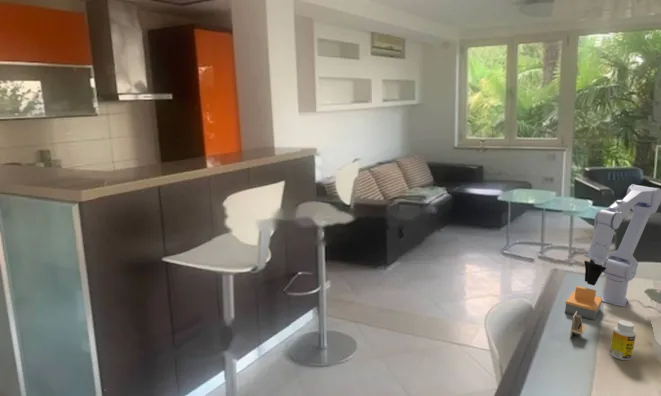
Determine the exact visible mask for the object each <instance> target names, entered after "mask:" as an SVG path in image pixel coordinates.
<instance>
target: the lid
mask: <svg viewBox="0 0 661 396" xmlns="http://www.w3.org/2000/svg"><path fill="white" fill-rule="evenodd" d="M596 293H597V290H596V289H593V288H592V289H591V288H588V287H583V286H580V285H576V286H575V290H573V291H572V292H571V294H570V295H569V296H568V298H567V299H566V300H565V305H566V304H569V305H573V306H577V307H581V308H585V309H589V310H593V311H596V310H597V309H598V307H599V305H600V303H601V304H602V303H603V301H602V299H603V298H601V297H602V296H601V297H600V296H598V295H597V296H596Z"/></svg>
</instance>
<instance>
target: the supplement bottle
mask: <svg viewBox="0 0 661 396" xmlns="http://www.w3.org/2000/svg"><path fill="white" fill-rule="evenodd" d="M634 329H635V324H634V323H633V322H631V321H629V320H623V319H621V320H618V321H617V325H616V326H614V327H613V331H612V335H611V343H610V346H609V347H610V348H609V354H610V355H611V356H612V357H613V358H616V359H618V360H622V361H629V360H631V359H632V356H633V351H634V346H635V342H636V335H637V333H636V331H635V330H634Z"/></svg>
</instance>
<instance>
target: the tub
mask: <svg viewBox="0 0 661 396" xmlns="http://www.w3.org/2000/svg"><path fill="white" fill-rule="evenodd" d="M601 307H602V302H601V303H600V305H599V307H598V309H597V310H596V311H593V310H589V309H585V308H581V307H577V306H573V305H569V304H566V303H565V310H564V314H567V315H571V316H574V314H575V313H576V311H577V315H578V316H581V319H585V320H589V321H593V322H594V321H595V319H596V317H597V316H598V314H599V312H600V310H601Z"/></svg>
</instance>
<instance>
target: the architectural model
mask: <svg viewBox="0 0 661 396" xmlns="http://www.w3.org/2000/svg"><path fill="white" fill-rule="evenodd" d="M570 327H571V329H570V335H569V339H572V336H573V335H575V336H579V334H580V335H584V333H585V331H586V329H587V324H583V320H582V317H581V316H578V315H577V311H576V313H575V314H574V315H572V321H571V326H570Z"/></svg>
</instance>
